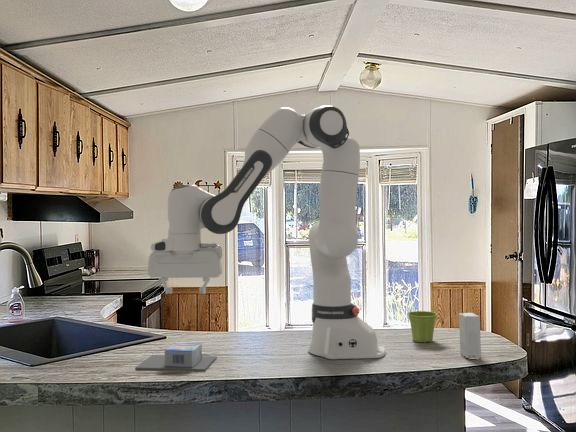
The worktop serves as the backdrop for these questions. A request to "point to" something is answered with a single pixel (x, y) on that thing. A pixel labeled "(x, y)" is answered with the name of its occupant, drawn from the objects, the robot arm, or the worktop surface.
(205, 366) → the mat
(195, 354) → the medicine box
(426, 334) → the plant pot
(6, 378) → the worktop surface
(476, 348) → the skincare box
